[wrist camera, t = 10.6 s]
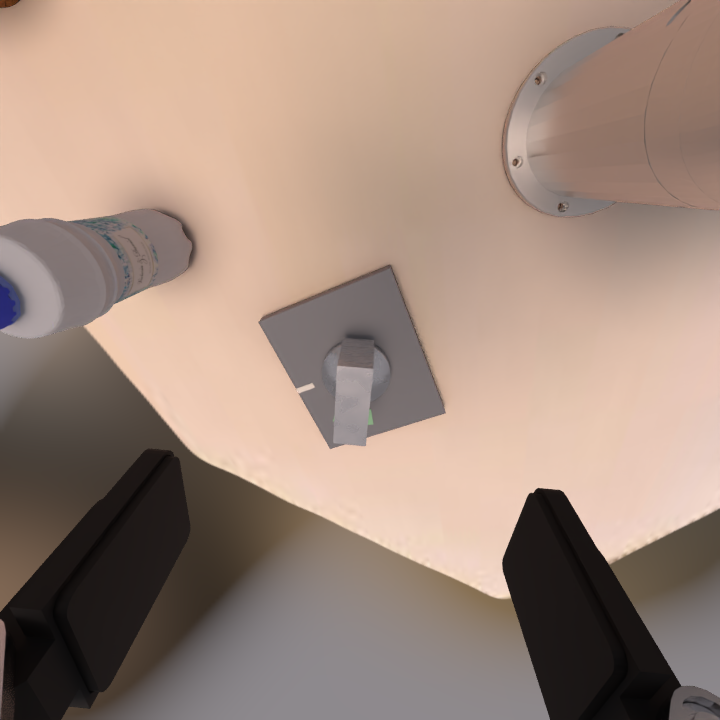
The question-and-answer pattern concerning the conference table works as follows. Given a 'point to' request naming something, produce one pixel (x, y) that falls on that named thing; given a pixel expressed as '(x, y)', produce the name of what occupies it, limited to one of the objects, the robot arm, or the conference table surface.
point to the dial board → (358, 321)
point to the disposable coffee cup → (7, 3)
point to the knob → (354, 386)
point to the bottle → (83, 267)
